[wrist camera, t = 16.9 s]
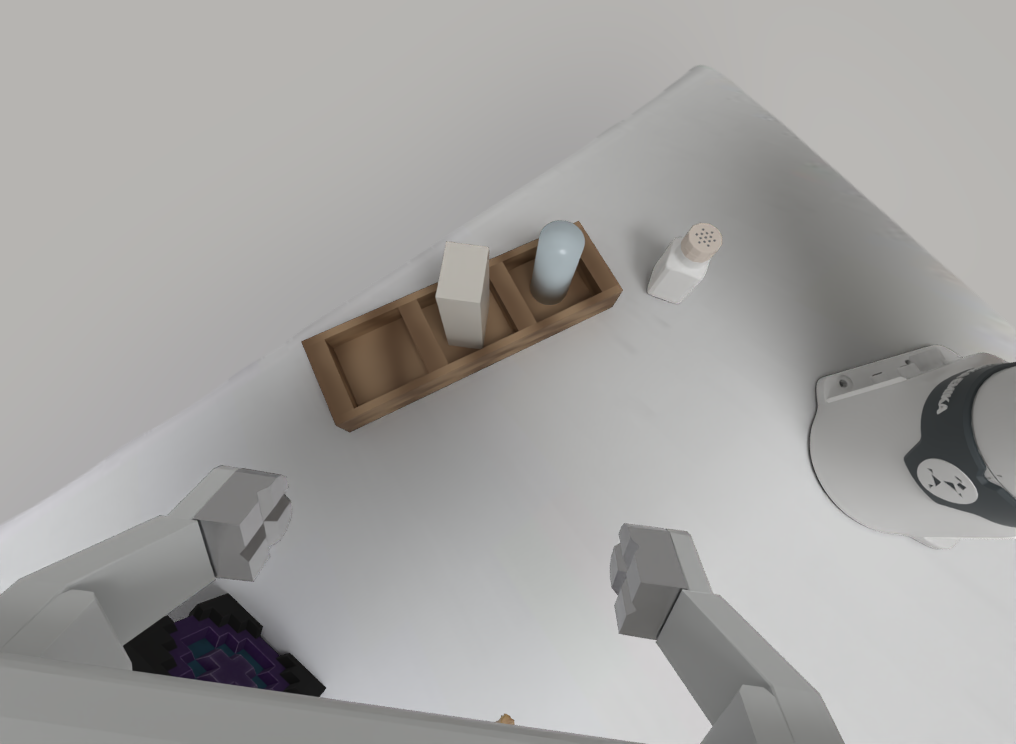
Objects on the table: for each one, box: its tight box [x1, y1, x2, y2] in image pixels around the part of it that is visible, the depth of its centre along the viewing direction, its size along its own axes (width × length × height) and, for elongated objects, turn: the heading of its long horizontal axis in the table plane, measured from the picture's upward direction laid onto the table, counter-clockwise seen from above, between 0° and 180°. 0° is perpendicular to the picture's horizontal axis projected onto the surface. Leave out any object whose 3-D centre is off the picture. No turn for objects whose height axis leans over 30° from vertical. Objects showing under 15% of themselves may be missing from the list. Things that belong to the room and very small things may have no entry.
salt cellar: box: [530, 221, 585, 305], centre depth 42 cm, size 4×4×9 cm
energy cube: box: [123, 593, 326, 697], centre depth 31 cm, size 12×12×12 cm
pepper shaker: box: [647, 223, 722, 304], centre depth 44 cm, size 4×4×10 cm
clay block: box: [436, 241, 490, 349], centre depth 40 cm, size 4×5×11 cm
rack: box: [301, 221, 623, 432], centre depth 45 cm, size 30×9×4 cm, turn 117°
